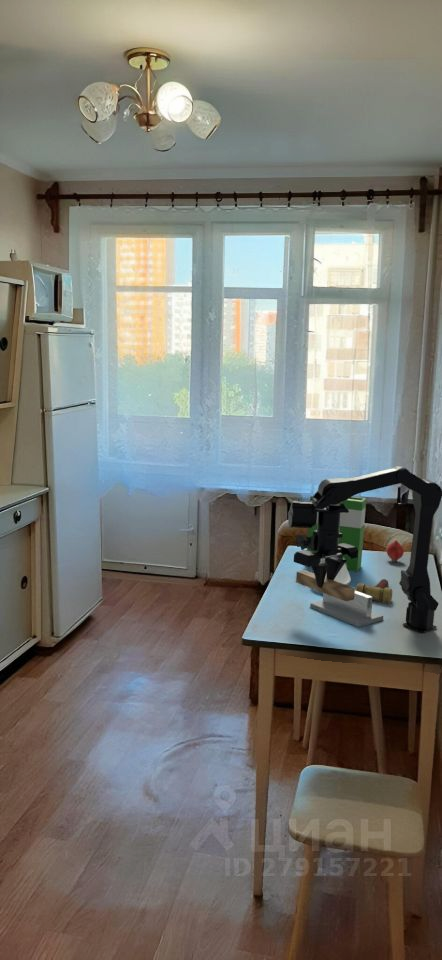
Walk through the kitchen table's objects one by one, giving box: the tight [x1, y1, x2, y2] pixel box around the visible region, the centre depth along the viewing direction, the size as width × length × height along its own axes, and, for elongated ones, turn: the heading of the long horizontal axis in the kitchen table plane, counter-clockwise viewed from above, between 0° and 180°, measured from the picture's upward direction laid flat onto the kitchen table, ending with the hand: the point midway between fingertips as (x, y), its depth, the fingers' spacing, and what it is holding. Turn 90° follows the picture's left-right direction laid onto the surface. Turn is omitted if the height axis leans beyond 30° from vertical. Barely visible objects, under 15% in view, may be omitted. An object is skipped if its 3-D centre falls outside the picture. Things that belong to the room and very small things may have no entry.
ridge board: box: [309, 599, 384, 628], centre depth 198 cm, size 18×10×1 cm, turn 39°
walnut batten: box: [295, 569, 356, 601], centre depth 186 cm, size 18×3×3 cm, turn 38°
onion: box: [386, 539, 404, 562], centre depth 253 cm, size 6×6×8 cm
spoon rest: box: [325, 558, 352, 586], centre depth 225 cm, size 24×12×7 cm, turn 162°
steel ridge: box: [322, 590, 374, 619], centre depth 198 cm, size 16×2×6 cm, turn 39°
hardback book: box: [306, 495, 367, 573], centre depth 244 cm, size 18×7×24 cm, turn 69°
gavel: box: [355, 578, 393, 604], centre depth 219 cm, size 21×5×10 cm
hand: (324, 586), depth 186 cm, fingers closed on walnut batten, 3 cm apart
